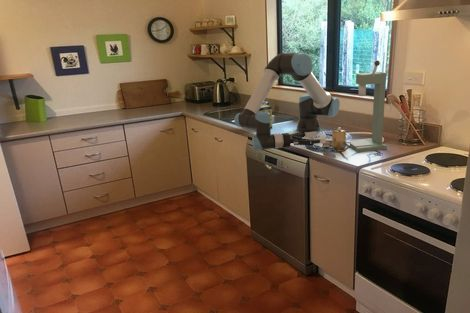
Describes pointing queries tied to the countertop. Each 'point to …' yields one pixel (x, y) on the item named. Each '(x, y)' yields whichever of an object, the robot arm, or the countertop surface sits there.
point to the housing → (338, 139)
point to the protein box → (267, 109)
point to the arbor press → (378, 110)
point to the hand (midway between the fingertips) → (321, 137)
